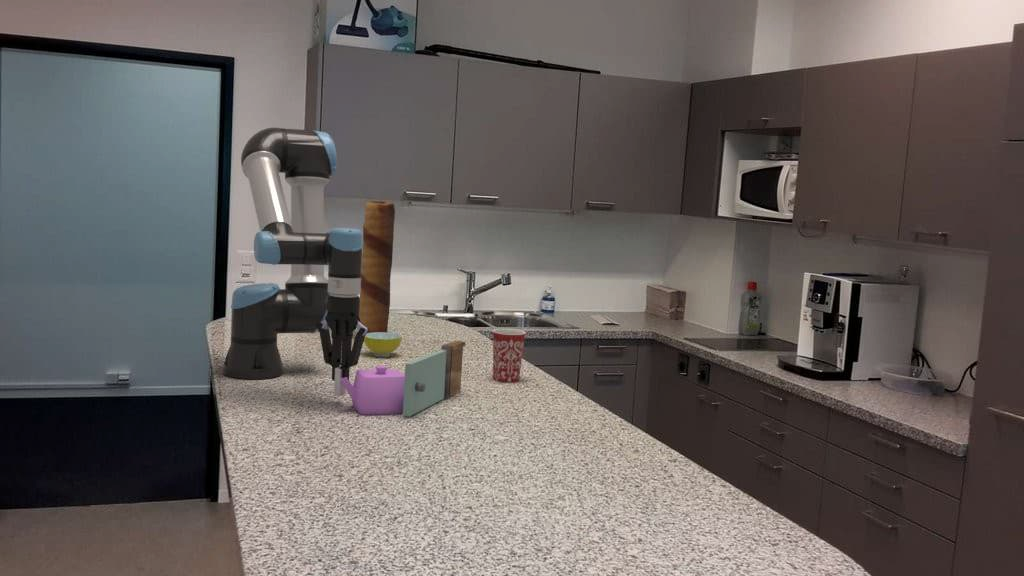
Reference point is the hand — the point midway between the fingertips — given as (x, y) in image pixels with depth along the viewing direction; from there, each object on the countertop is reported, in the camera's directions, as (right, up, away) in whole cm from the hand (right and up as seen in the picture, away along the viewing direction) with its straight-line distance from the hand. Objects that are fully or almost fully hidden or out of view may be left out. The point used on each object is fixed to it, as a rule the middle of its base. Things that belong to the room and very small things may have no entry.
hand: (339, 394), depth 217 cm
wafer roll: (-5, +8, +86) cm, 87 cm away
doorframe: (+25, -2, +15) cm, 29 cm away
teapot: (+9, -3, -3) cm, 10 cm away
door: (+21, -3, 0) cm, 21 cm away
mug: (+38, 0, +39) cm, 55 cm away
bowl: (+1, +5, +60) cm, 60 cm away
